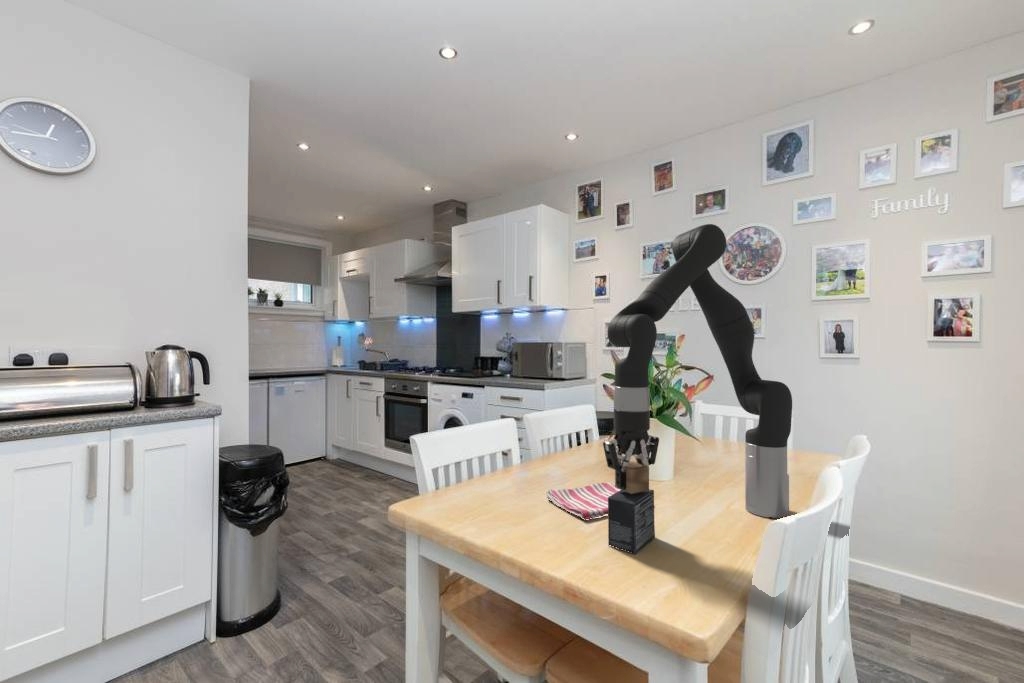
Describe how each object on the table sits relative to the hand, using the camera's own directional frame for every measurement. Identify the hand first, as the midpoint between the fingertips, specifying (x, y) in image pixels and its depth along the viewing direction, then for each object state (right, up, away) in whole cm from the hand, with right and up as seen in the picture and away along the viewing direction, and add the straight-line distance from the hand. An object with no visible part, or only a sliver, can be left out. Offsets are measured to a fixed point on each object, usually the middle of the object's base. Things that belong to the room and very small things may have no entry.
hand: (631, 486), depth 95 cm
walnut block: (0, -1, 0) cm, 1 cm away
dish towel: (-3, -13, +23) cm, 26 cm away
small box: (0, -12, 0) cm, 12 cm away
